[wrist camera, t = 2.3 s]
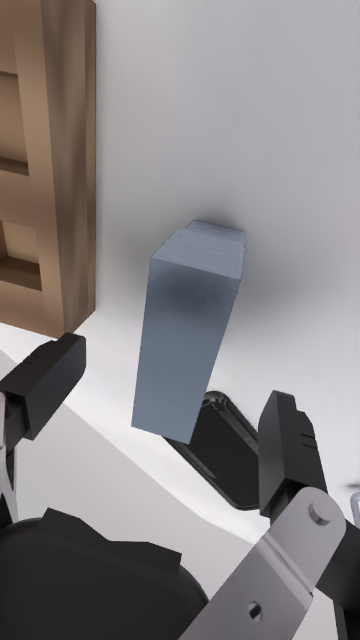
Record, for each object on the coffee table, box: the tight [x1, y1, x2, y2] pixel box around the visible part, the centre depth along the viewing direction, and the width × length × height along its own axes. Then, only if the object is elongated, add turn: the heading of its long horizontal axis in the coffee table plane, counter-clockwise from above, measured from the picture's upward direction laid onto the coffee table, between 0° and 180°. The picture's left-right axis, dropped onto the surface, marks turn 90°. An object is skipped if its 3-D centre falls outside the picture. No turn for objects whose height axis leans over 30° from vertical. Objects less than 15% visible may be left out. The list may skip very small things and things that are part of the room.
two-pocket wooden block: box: [0, 0, 96, 339], centre depth 15 cm, size 16×7×4 cm, turn 171°
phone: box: [162, 391, 260, 511], centre depth 26 cm, size 8×1×15 cm
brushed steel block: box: [131, 220, 245, 444], centre depth 15 cm, size 9×3×8 cm, turn 171°
